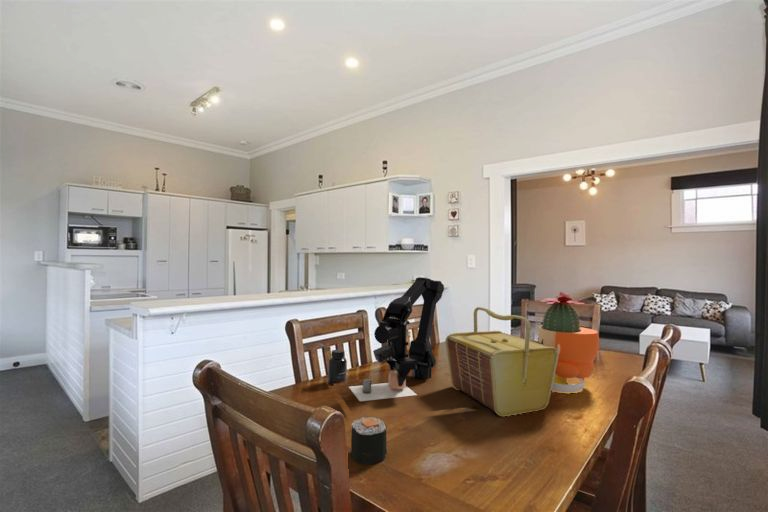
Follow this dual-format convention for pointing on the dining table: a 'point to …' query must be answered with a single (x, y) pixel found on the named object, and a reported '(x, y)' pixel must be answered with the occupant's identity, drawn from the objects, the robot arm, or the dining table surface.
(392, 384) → the terracotta cap
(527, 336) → the picnic basket
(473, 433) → the dining table surface
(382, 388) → the off-white board
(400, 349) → the robot arm
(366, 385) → the metal post
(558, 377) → the potted cactus
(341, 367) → the supplement bottle
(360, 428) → the sushi
